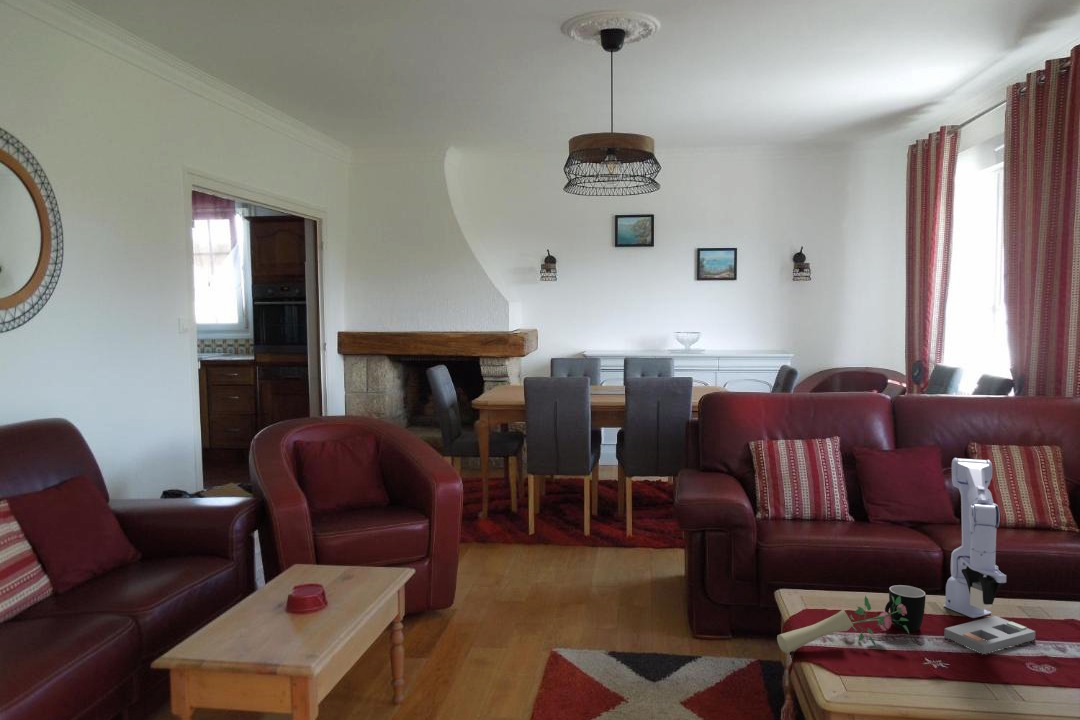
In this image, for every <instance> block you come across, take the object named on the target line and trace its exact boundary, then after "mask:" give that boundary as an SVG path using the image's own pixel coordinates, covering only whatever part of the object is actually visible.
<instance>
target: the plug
mask: <svg viewBox="0 0 1080 720" xmlns="http://www.w3.org/2000/svg"><path fill="white" fill-rule="evenodd" d="M970 605H972V606H974V607H977V608H979V609H982V610H984V609H985V610H987V609H991V608H993V604H989V605H985V604H984V602H983V591H982V586H981V583H980V581H979V582H974V583H972V587H970Z"/></svg>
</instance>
